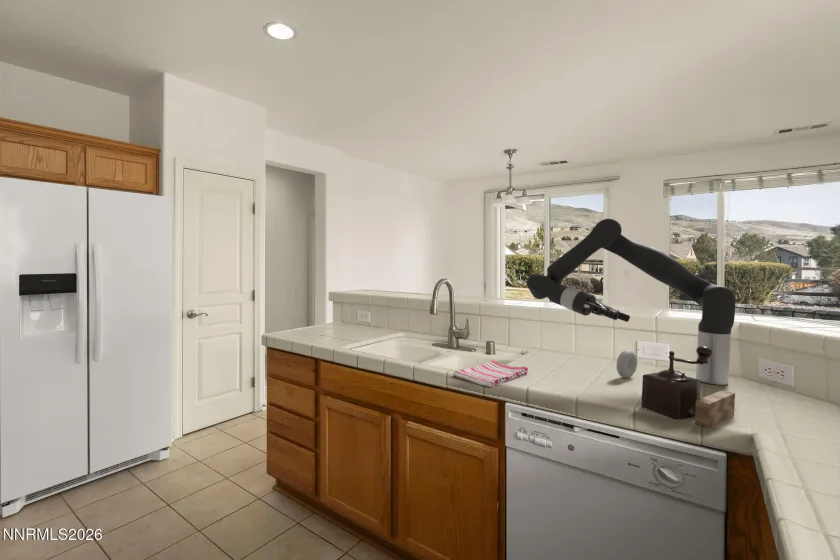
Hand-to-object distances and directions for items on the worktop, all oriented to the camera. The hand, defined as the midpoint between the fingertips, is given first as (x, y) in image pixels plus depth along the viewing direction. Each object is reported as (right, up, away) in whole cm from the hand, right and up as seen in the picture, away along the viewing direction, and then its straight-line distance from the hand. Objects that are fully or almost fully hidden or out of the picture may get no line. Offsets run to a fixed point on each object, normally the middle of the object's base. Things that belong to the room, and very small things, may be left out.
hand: (623, 318), depth 130 cm
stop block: (+13, -25, -22) cm, 35 cm away
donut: (+9, -23, +15) cm, 29 cm away
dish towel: (-39, -23, +16) cm, 48 cm away
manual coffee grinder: (+7, -24, -15) cm, 29 cm away
